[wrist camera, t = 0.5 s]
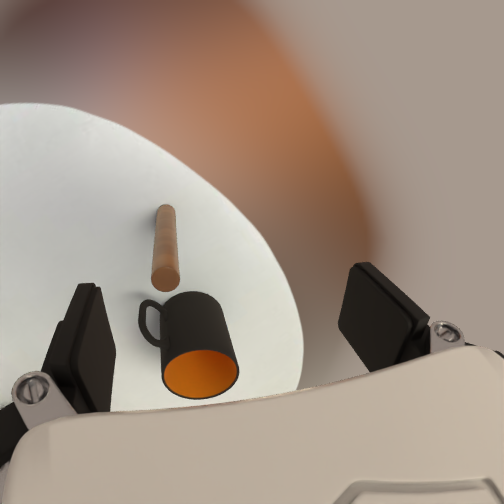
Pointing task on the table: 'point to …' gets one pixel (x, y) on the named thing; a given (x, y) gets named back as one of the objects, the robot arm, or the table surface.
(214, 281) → the table surface
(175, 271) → the stick
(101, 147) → the table surface
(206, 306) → the mug
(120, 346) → the table surface
